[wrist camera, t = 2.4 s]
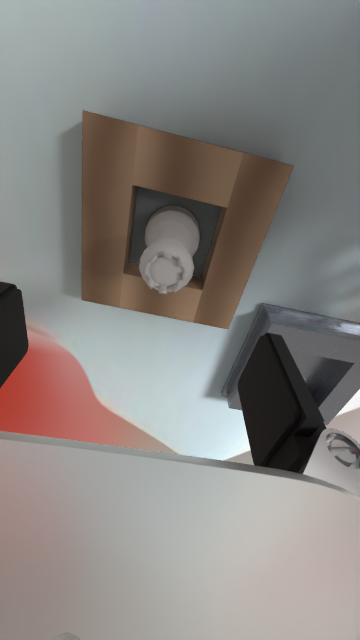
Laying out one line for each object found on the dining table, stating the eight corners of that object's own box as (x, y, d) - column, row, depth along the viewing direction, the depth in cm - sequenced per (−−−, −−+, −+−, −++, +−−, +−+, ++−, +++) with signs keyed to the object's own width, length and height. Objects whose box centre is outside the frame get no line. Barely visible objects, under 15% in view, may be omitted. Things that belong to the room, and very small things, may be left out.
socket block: (282, 162, 19) (293, 165, 17) (225, 314, 26) (228, 329, 24) (95, 113, 17) (82, 110, 15) (90, 286, 25) (81, 300, 23)
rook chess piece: (154, 194, 20) (137, 222, 13) (209, 216, 21) (217, 252, 14) (139, 248, 23) (118, 294, 16) (188, 266, 23) (187, 317, 17)
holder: (387, 329, 26) (403, 345, 24) (320, 410, 33) (329, 427, 31) (262, 302, 25) (268, 317, 23) (221, 392, 32) (223, 410, 30)
